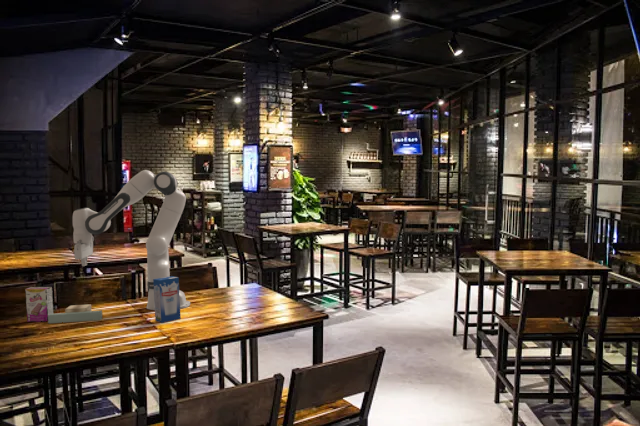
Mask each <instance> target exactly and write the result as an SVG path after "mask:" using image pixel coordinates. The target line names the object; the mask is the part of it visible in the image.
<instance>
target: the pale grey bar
mask: <svg viewBox="0 0 640 426" xmlns="http://www.w3.org/2000/svg"><path fill="white" fill-rule="evenodd" d="M102 319H103V310H92V311H85V312H70V313H65V312H59V313H58V312H57V313H53V314H49V315H48V322H47V323H48V324H62V322H63V323H75V322H77V323H78V322H91V321H102Z"/></svg>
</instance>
